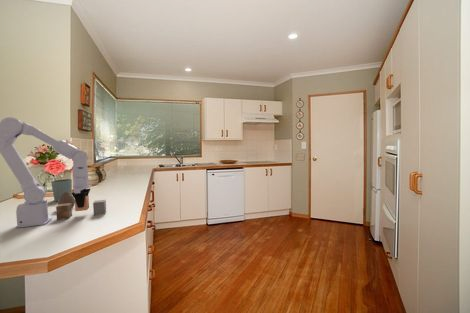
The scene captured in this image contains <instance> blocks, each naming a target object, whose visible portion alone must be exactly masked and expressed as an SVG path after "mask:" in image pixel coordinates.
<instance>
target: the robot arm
mask: <svg viewBox="0 0 470 313" xmlns="http://www.w3.org/2000/svg"><path fill="white" fill-rule="evenodd" d="M20 135H25V136H33V137H35V138H36V139H39V140H40V141H42V142H44V143H46V144H47V145H50V146H51V147H52V149H53V151H54V152H55V153H58V154H59V155H61V156H63V157H65V158H67V159H71V160H72V166H73V167H72V185H73V186H72V190H74V191H72V196H73V197H74V200H76V203H77V206H78V208H81V207H84V202H85V196H86V195H90V192H91V188H92V185H89V169H88V162H87V161H88V159H89V156H88V155H87V153H86V152H85V151H83V150H80V149H81V148H80V147H76V146H74V145H73V144H71V143H70V141H68V140H64V139H59V140H57V139H56V138H54V137H52V136H51V135H49V134H47V133H45V132H44V131H43V130H41V129H39V128H38V127H35V126H34V125H33V124H32V125H31V124H29V123H27V122H25V121H22V120H19V119H18V118H15V117H4V118H3V119H2V120H0V155H1V156H2V157H3V159H4V161H5V163H6V164H7V166H8V168H9V169H10V170H11V172H12V174H13V175H14V177H15V178H16V179H17V181H18V183H19V184H20V188H21V190H22V192H23V199H24V203H19V204H18V205H17V206H16V211H15V213H16V228H19V229H20V228H25V227H34V226H35V227H36V226H41V225H46V224H48V223H49V222H50V221H51V220H53V217H49V210H48V209H49V208H48V199H46V198H45V195H46V193H47V189H46V188H45V186H42V185H40V184H41V183H40V182H38V181H37V179H36V178H35V177H34V175H33V173H32V172H31V170H30V169H29V167H28V166H27V164H26V163H25V161H24V159H23V158H22V157H23V156H21V154H20V152H19V151H18V149H17V148H16V146H15V144H14V143H15V142H16V140H17V139H18V137H20Z"/></svg>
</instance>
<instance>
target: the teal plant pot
mask: <svg viewBox="0 0 470 313" xmlns="http://www.w3.org/2000/svg"><path fill="white" fill-rule="evenodd" d="M50 182H51V188H52V194H53V201H54V202H58V200H59V198H60V197H61V196H62V194H63V192H69V193H70V194H71V195H72V193H73V178H66V179H56V180H55V179H53V180H51V181H50Z"/></svg>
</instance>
